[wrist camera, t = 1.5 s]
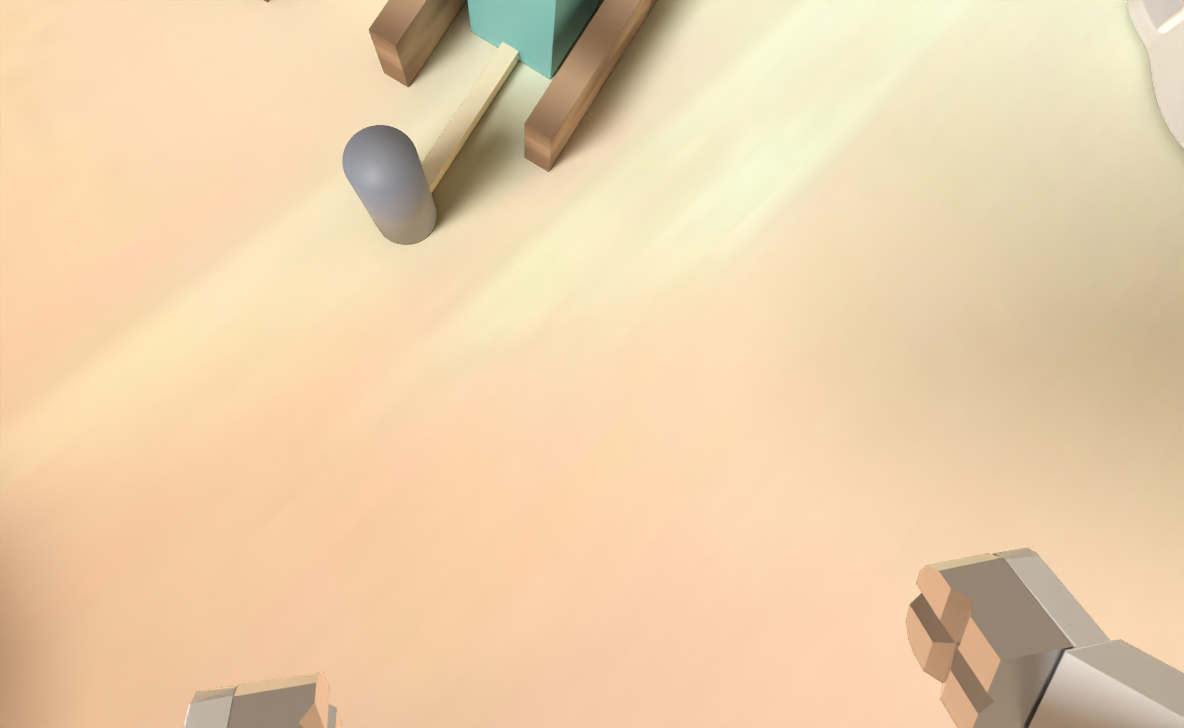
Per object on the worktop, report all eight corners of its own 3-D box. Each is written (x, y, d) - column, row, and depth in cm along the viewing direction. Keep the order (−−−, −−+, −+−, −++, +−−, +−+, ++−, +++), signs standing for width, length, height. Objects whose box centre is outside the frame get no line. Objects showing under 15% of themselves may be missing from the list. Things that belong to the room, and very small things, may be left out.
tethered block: (519, -41, 46) (518, -161, 37) (597, 6, 46) (614, -102, 37) (348, 215, 44) (303, 152, 35) (430, 265, 44) (407, 214, 35)
